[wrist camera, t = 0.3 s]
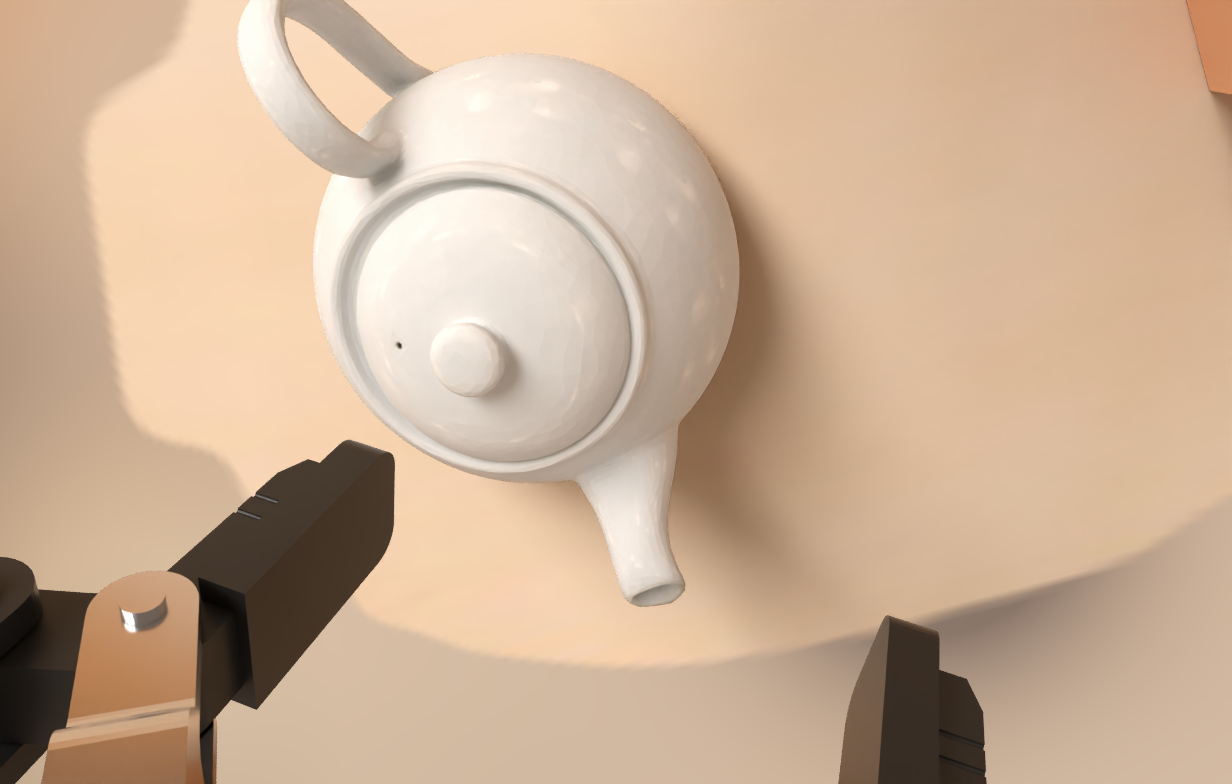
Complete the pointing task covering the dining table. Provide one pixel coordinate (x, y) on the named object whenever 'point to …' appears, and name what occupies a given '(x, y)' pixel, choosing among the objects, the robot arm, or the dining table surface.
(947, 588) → the dining table surface
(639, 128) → the teapot
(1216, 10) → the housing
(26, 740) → the robot arm
